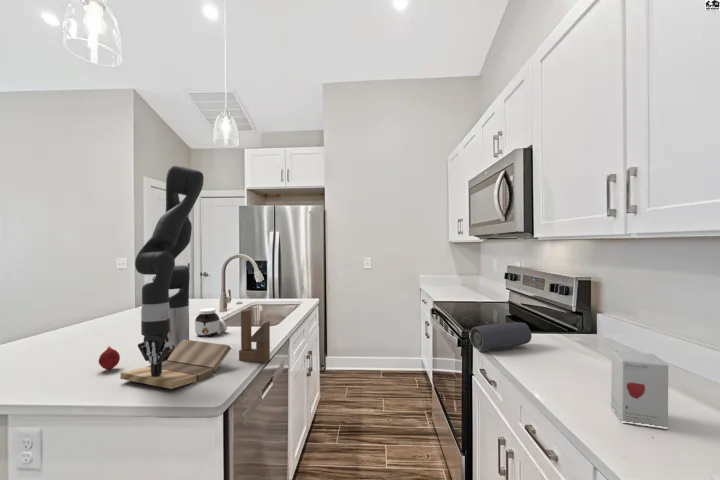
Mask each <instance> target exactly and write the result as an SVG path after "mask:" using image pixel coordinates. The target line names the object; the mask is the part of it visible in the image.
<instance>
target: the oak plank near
mask: <svg viewBox="0 0 720 480" xmlns="http://www.w3.org/2000/svg"><path fill="white" fill-rule="evenodd" d="M119 377H120V379H121V380H125V381H129V382H133V383H134V382H135V383H140V384H145V385H149V386H155V387H161V388H165V389H170V390H172V389H175V388H179V387H182V386H186V385H189V384H191V383H196V382H197V381H196V378H197V375H192V374H186V373H180V372H175V371H169V370H163V369H162V373H161V375H159V376H156V377H154V376H151V367H148V366H145V367H140V368H136V369H132V370H127V371H121V372H120V376H119Z"/></svg>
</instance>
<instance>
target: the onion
mask: <svg viewBox="0 0 720 480" xmlns="http://www.w3.org/2000/svg"><path fill="white" fill-rule="evenodd" d="M120 359H121V355H120V353H119V352H118V351H117V350H116V349H113V348H112V347H111V346H110V345H109V346H107V347H106V350H104V351H103V352H102V353H101V354H100V356H99V358H98V365H100V367H101V368H103V369H104V370H107V371H111V370H112V369H114V368H115V367H116V366H118V364H119V362H120Z"/></svg>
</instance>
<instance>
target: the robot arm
mask: <svg viewBox="0 0 720 480" xmlns="http://www.w3.org/2000/svg"><path fill="white" fill-rule="evenodd" d="M165 179H166V180H165V213H164V214H163V215H161V217H159V219H158V221H157V223H156V225H155V228H154V230H153V233H152V234H151V237H150V238H149V239H148V241H146V243H145V244H144V245H143V246H142V248H141V249H140V250H139V252H138V253H137V255H136V257H135V261H134V267H135V270H136V271H137V273H139V274H141V275H145V276H146V275H148V276H149V275H150V276H151V275H154V276H155V277H154V280H153V282H147V283H145V284H144V285H143V286H142V288H141V310H140V313H141V316H140V317H141V318H140V322H141V323H140V325H141V326H140V327H141V335H142V336H143V341H142V342H141V343H138V344H137V348H138V349H139V351H140V353H141V355H142V357H143V359H144V360H145V362H149V364H150V365H151V376H154V377H156V376H159V375H161V373H162V362H164V361H167V360H168V358H169V357H170V355H171V353H172V352H173V350H174V349H175V348H176V347H177V346H178V344H179V343H180V342H181V341H182V340H183V339H184V340H190V276H191V275H190V273H191V272H190V269H189V267H188V265H183V264H181V265H176V259H177V257H178V256H179V255H180V254H181V253H182V252H184V251H185V249H186V248H187V247H188V246H189V244H190V242H191V237H192V230H193V228H192V227H193V226H192V221H191V220H190V218H189V214H190V212H191V211H192V209H193V208H194V205H196V204H195V203H196V202H197V200H198V198H199V196H200V194H201V192H202V189H203V188H204V187H203V186H204V174H203V172H202V171H199V170H197V169H192V168H189V167H185V166H181V165H177V164H176V165H173V164H172V165H171V166H170V167H169V168H168V170H167V173H166V178H165ZM179 195H184V196H185V197H184V198H183V199H182V201H181V200H180V196H179ZM169 290H178V291H177V292H176V293H175V294H173V295H172V296H170V295H169V294H170V292H169Z"/></svg>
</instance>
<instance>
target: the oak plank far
mask: <svg viewBox="0 0 720 480" xmlns="http://www.w3.org/2000/svg"><path fill="white" fill-rule="evenodd" d="M231 350H232V348H231V346H230V345H229V344H222V343H217V342H216V343H215V342H207V341H206V342H205V341H199V340H192V339H189V340H184V339H183V340H182V341H181V342H180V343H179V344H178V346H177V347H176V348H175V349H174V350H173V352H172V353H171V355H170V357H169V358H168V360H167V361H169V362H175V363H181V364H188V365H194V366H200V367H206V368H213V369H214V372H216V370H218V368H219V367H220V366H221V364H222V362H223V361H224V359H225V358H226V356H227V355H228V354H229V352H230V351H231Z"/></svg>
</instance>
